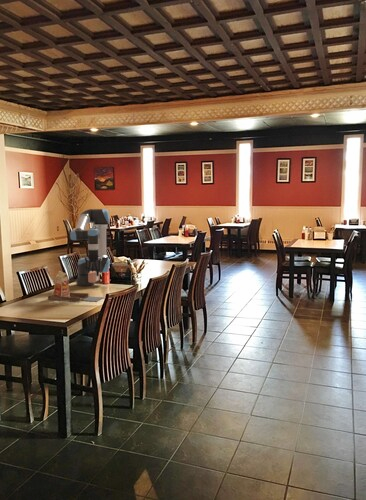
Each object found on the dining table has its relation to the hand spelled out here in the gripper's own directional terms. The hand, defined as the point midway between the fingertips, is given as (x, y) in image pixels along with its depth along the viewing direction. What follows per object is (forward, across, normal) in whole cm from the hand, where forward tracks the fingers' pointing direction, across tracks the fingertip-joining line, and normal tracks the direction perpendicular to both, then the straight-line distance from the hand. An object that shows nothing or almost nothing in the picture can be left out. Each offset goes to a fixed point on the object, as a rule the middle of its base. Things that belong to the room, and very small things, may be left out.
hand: (93, 279), depth 320 cm
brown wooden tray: (+12, -14, -13) cm, 23 cm away
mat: (+12, +4, -12) cm, 18 cm away
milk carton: (+12, -20, -13) cm, 26 cm away
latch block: (+1, 0, 0) cm, 1 cm away
